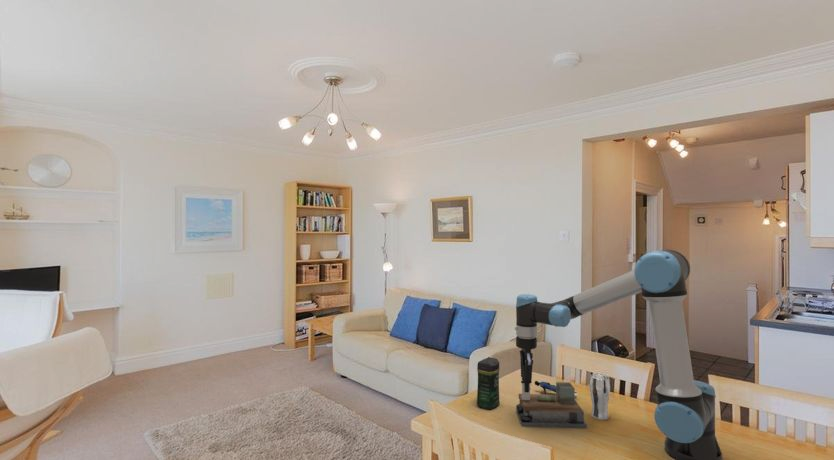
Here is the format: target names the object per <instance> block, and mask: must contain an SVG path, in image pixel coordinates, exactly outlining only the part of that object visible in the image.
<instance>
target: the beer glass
mask: <svg viewBox="0 0 834 460" xmlns="http://www.w3.org/2000/svg"><path fill="white" fill-rule="evenodd" d="M589 392H590V393H589V394H590V399H591V405H592V407H591V408H592V409H591V412H590V414H591V417H592V418H594V419H596V420H599V421H606V420H609V418H610V417H609V411H608V408H609V407H608V405H609V401H610V394H611V385H610V377H609V376H607V375H606V374H599V373H593V374H591V375H590V380H589Z"/></svg>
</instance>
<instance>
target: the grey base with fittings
mask: <svg viewBox="0 0 834 460" xmlns="http://www.w3.org/2000/svg"><path fill="white" fill-rule="evenodd" d="M515 407H516V408H515V413H516V416H517V419H518V421H519V424H520V426H521V427H526V428H529V427H532V428H556V429H557V428H559V429H560V428H561V429H588V424H587V421H585V411H584V410H583V409H582V408H581V413H573V412H543V411H524V409H523V406H522V404H521V402H520V401H519V403H518V404H516V406H515Z"/></svg>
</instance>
